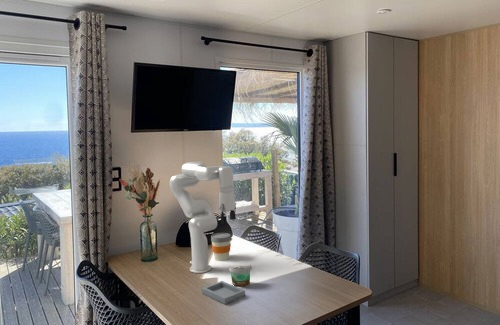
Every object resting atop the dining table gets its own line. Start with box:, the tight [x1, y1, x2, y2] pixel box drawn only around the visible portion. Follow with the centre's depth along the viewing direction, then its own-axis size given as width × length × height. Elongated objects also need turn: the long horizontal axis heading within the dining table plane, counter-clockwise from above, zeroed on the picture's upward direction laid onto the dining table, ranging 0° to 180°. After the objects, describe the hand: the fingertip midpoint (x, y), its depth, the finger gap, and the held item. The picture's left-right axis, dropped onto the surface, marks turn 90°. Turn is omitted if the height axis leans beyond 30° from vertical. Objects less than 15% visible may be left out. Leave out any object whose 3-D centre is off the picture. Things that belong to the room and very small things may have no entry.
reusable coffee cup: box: [210, 232, 232, 262], centre depth 258 cm, size 13×13×15 cm
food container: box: [228, 263, 253, 288], centre depth 214 cm, size 12×6×10 cm, turn 105°
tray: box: [201, 280, 246, 306], centre depth 204 cm, size 18×13×3 cm
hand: (228, 221), depth 218 cm, fingers open, 9 cm apart
